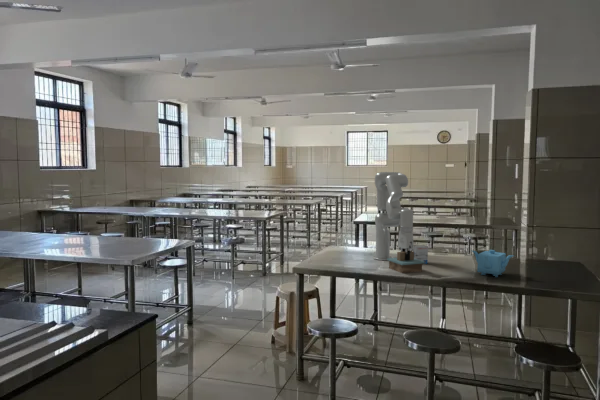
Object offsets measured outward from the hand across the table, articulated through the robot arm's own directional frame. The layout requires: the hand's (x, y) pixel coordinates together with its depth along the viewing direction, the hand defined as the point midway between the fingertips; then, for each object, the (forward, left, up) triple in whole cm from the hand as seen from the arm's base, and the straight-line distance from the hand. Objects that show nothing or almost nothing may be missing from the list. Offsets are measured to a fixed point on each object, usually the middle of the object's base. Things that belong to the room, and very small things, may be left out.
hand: (405, 259), depth 281 cm
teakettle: (+25, +43, -8) cm, 50 cm away
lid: (0, 0, -1) cm, 1 cm away
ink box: (-16, +23, -8) cm, 29 cm away
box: (0, 0, -7) cm, 7 cm away
